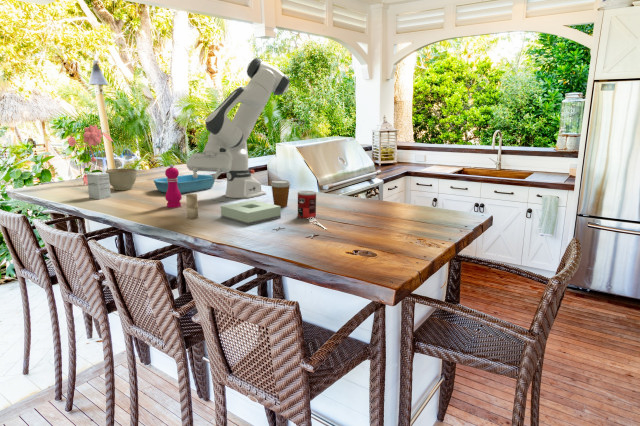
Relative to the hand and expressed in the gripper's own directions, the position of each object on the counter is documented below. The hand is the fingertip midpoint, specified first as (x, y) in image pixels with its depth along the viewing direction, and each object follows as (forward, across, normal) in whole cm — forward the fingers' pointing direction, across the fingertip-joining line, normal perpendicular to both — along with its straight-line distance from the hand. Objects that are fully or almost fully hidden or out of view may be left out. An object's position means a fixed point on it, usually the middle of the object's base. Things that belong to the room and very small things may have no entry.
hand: (204, 177), depth 190 cm
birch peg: (+19, 0, +3) cm, 19 cm away
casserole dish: (-23, -35, +45) cm, 62 cm away
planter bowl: (-17, -69, +39) cm, 81 cm away
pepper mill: (+7, -19, +16) cm, 26 cm away
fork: (+20, +55, +3) cm, 59 cm away
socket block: (+14, +23, +8) cm, 28 cm away
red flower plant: (-23, -92, +45) cm, 105 cm away
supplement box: (+1, -65, +22) cm, 69 cm away
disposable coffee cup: (-4, +29, +26) cm, 39 cm away
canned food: (+9, +46, +13) cm, 49 cm away
